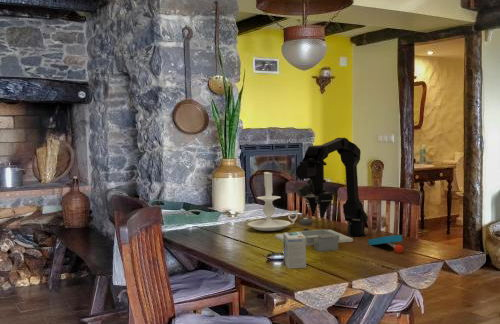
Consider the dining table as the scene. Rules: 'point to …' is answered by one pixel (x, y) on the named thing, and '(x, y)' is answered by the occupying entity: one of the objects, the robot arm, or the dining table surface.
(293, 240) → the light bulb box
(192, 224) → the dining table surface
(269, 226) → the candlestick
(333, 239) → the block
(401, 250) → the lever
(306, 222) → the wheel
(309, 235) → the chassis
